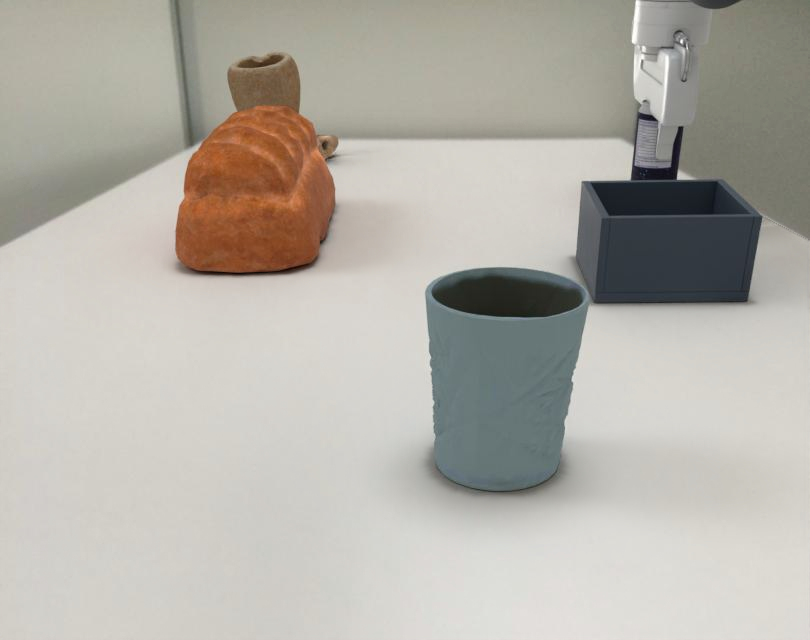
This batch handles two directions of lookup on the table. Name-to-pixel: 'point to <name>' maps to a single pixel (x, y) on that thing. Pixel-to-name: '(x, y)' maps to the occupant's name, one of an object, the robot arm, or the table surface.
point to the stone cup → (271, 88)
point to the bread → (255, 195)
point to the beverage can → (653, 149)
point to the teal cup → (502, 372)
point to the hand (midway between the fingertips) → (656, 152)
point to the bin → (666, 241)
